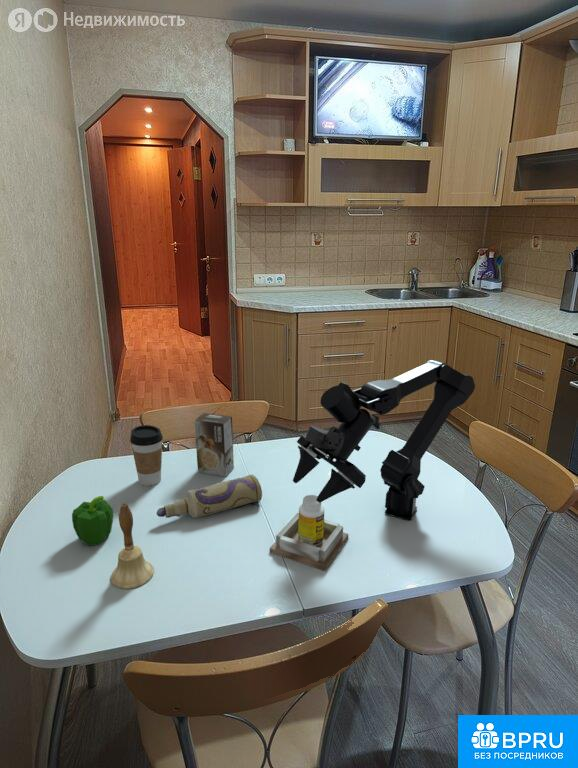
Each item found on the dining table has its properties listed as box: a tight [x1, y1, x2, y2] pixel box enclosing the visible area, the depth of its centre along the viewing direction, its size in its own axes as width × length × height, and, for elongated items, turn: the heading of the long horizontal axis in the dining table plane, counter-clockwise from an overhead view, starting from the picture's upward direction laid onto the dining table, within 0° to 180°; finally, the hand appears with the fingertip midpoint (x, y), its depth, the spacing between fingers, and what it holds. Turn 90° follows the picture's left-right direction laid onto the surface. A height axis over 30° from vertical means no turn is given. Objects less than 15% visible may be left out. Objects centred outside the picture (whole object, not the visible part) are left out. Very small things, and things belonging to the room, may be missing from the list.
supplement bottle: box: [298, 494, 325, 546], centre depth 108 cm, size 6×6×10 cm
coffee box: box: [194, 412, 235, 477], centre depth 140 cm, size 9×6×16 cm
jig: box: [269, 512, 349, 572], centre depth 109 cm, size 13×13×4 cm
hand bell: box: [110, 502, 155, 590], centre depth 97 cm, size 8×8×16 cm
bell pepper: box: [71, 495, 114, 546], centre depth 109 cm, size 8×8×10 cm
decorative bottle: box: [156, 474, 263, 519], centre depth 121 cm, size 26×8×7 cm, turn 118°
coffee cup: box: [129, 424, 164, 487], centre depth 134 cm, size 8×8×15 cm
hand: (305, 491), depth 105 cm, fingers open, 9 cm apart
